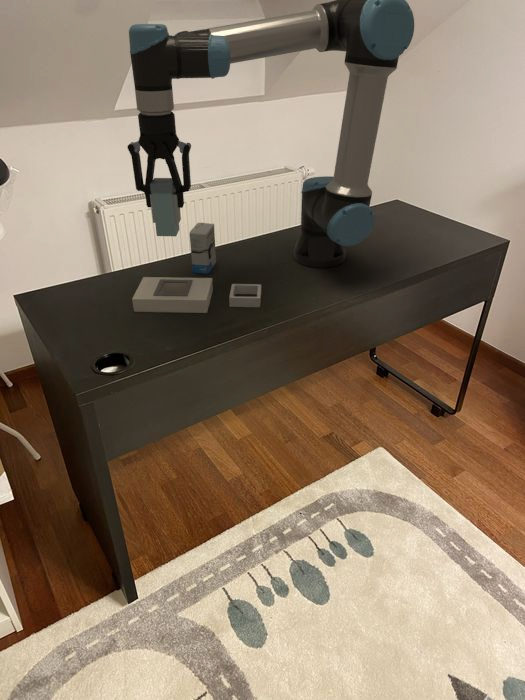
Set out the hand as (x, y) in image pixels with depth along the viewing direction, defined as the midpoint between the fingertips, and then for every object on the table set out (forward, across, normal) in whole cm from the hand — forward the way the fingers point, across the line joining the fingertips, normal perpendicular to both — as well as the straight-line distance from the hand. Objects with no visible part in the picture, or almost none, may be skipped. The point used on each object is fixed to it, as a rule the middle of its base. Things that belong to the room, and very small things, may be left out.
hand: (167, 220), depth 121 cm
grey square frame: (+21, -18, -1) cm, 28 cm away
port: (+21, 0, 0) cm, 21 cm away
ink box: (+21, -5, -20) cm, 30 cm away
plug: (+3, 0, 0) cm, 3 cm away
